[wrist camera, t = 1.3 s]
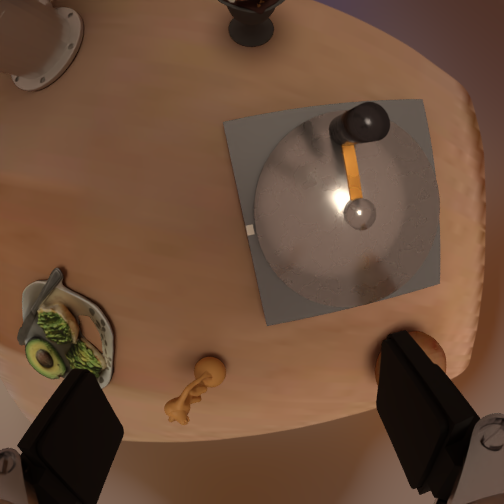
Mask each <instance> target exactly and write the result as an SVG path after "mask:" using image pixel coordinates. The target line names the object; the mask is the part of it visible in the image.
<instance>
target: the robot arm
mask: <svg viewBox="0 0 504 504" xmlns="http://www.w3.org/2000/svg"><path fill="white" fill-rule="evenodd" d="M83 29H84V26H83V21H82V18H81V16H80V15H79V14H78V13H77V12H76V11H74V10H73V9H71V8H68V7H60V8H54V7H52V3H51V2H50V0H0V72H3V73H7V74H11V77H12V80H13V82H14V84H15V85H16V86H17V87H18V88H20V89H22V90H26V91H37V90H40V89H43V88H45V87H46V86H48V85H50V84H51V83H52V82H54V81H55V80H56V79H57V78H58V77H59V76H61V75H62V74H63V72H64V71H65V70H66V69H67V68H68V66H69V65H70V63H71V62H72V60H73V59H74V57H75V55H76V53H77V52H78V49H79V47H80V44H81V41H82V37H83ZM376 406H377V410H378V413H379V415H380V417H381V419H382V422H383V424H384V426H385V429H386V431H387V433H388V435H389V437H390V440H391V442H392V444H393V447H394V449H395V451H396V453H397V456H398V458H399V460H400V463H401V465H402V468H403V470H404V472H405V475H406V477H407V479H408V482H409V484H410V486H411V488H413V489H415V488H417V490H418V492H419V494H420V495H421V494H423V493H426V492H428V491H432V494H433V496H434V497H435V498H436V499H435V502H434V504H504V414H501V413H494V414H490V415H487V416H485V417H483V418H482V419H480V418H479V416H478V415H477V414H476V412H475V411H474V410H473V408H472V407H471V406H470V404H469V403H468V402H467V400H466V399H465V398H464V396H463V395H462V394H461V393H460V391H459V390H458V389H457V388H456V386H455V385H454V384H453V383H452V381H451V380H450V379H449V377H448V376H447V375H446V374H445V372H444V371H443V370H442V369H441V367H440V366H438V365H437V364H435V363H433V362H432V361H431V359H430V358H429V357H428V356H427V354H426V353H425V352H424V351H423V350H422V348H421V347H420V346H419V345H418V344H417V342H416V341H415V340H414V339H413V338H412V336H411V335H410V334H409V333H408V332H407V331H406V330H404V331H400V332H396V333H392V334H389V335H388V336H387V340H383V342H382V348H381V362H380V373H379V383H378V392H377V400H376ZM123 435H124V429H123V426H122V424H121V423H120V421H119V419H118V418H117V416H116V414H115V413H114V411H113V409H112V407H111V405H110V404H109V402H108V400H107V398H106V396H105V394H104V393H103V391H102V389H101V387H100V385H99V383H98V381H97V379H96V377H95V375H94V374H93V373H91V372H90V371H89V370H88V369H72V370H71V371H70V372H69V374H68V375H67V376H66V378H65V379H64V380H63V382H62V383H61V384H60V386H59V387H58V388H57V390H56V391H55V392H54V394H53V395H52V396H51V398H50V399H49V400H48V402H47V403H46V405H45V406H44V407H43V409H42V410H41V412H40V413H39V414H38V416H37V417H36V419H35V420H34V421H33V423H32V424H31V426H30V427H29V429H28V430H27V432H26V433H25V434H24V436H23V438H22V439H21V440H20V442H19V443H18V445H17V446H18V447H19V448H20V450H21V451H22V452H23V453H22V454H21V455H20V454H19V453H18V452H17V451H16V450H15V449H12V448H5V449H2V450H0V504H97V501H98V499H99V496H100V493H101V491H102V488H103V485H104V482H105V480H106V477H107V475H108V473H109V470H110V467H111V465H112V462H113V460H114V457H115V455H116V452H117V450H118V447H119V445H120V443H121V440H122V438H123Z"/></svg>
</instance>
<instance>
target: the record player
mask: <svg viewBox="0 0 504 504" xmlns="http://www.w3.org/2000/svg"><path fill="white" fill-rule="evenodd" d="M439 213H440V200H439V191H438V185H437V181H436V178H435V174H434V172H433V169H432V166H431V164H430V162H429V160H428V158H427V156H426V155H425V153H424V151H423V150H422V149H421V147H420V146H419V145H418V143H417V142H416V141H415V140H414V139H413V138H412V137H411V136H410V135H409V134H408V133H407V132H406V131H405V130H403V129H402V128H401V127H400V126H398V125H397V124H395V123H393V122H392V121H390V119H389V116H388V114H387V112H386V111H385V109H384V108H383V107H382V106H380V105H379V104H377V103H374V102H364V103H362V104H360V105H358V106H356V107H354V108H352V109H350V110H340V111H334V112H329V113H325V114H322V115H319V116H316V117H313V118H312V119H310V120H308V121H306V122H304V123H302V124H301V125H299V126H298V127H296V128H295V129H293V130H292V131H291V132H290V133H289V134H287V135H286V136H285V137H284V138H283V139H282V140H281V141H280V142H279V143H278V145H277V146H276V147H275V148H274V150H273V151H272V152H271V154H270V156H269V157H268V159H267V161H266V162H265V164H264V167H263V169H262V171H261V174H260V176H259V180H258V184H257V188H256V193H255V201H254V218H255V225H256V232H257V236H258V240H259V243H260V246H261V249H262V251H263V253H264V256H265V258H266V260H267V261H268V263H269V265H270V266H271V268H272V269H273V271H274V272H275V273H276V274H277V276H278V277H279V278H280V279H281V280H282V281H283V282H284V283H285V284H286V285H287V286H288V287H289V288H291V289H292V290H294V291H295V292H296V293H298V294H299V295H301V296H303V297H305V298H307V299H309V300H311V301H314V302H317V303H320V304H324V305H328V306H334V307H355V306H361V305H366V304H369V303H372V302H376V301H378V300H380V299H382V298H385V297H387V296H389V295H390V294H392V293H393V292H395V291H397V290H398V289H399V288H400V287H402V286H403V285H404V284H405V283H407V282H408V281H409V280H410V279H411V278H412V277H413V276H414V274H415V273H416V272H417V271H418V269H419V268H420V267H421V265H422V264H423V262H424V261H425V259H426V257H427V256H428V253H429V251H430V249H431V247H432V245H433V242H434V239H435V236H436V232H437V227H438V223H439Z"/></svg>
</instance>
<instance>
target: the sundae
mask: <svg viewBox="0 0 504 504" xmlns="http://www.w3.org/2000/svg"><path fill="white" fill-rule="evenodd" d="M218 1H219V2H221V3H222V4H224V5H227V7H228V9H229V11H230V13H231V15H232V16H233V17H234V18H233V19H232V21H231V22H230V25H229V34H230V36H231V38H232V39H233V40H234V41H235V42H237V43H238V44H241V45H243V46H249V47H253V46H259V45H262V44H264V43H266V42H267V41H268V40H269V39H270V38H271V37H272V35H273V31H274V27H273V24H272V22H271V20H270V19H269V16H270V15H271V14H272V13H273V11H274V9H275V7H276V6H278V5H280V4H281V3H282V2H284V1H285V0H218Z"/></svg>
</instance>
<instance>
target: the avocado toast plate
mask: <svg viewBox="0 0 504 504" xmlns="http://www.w3.org/2000/svg"><path fill="white" fill-rule="evenodd" d="M62 280H63V273H62V271H61V270H60V269H59V268H55V269H54V270H53V271H52V273H51V275H50V276H49V278H48V280H47V281H35V282H33V283H31V284H30V285H29V286H27V287H26V288H25V290H24V291H23V297H22V309H23V321H24V322H23V325H22V327H20V329H19V332H18V336H17V339H18V341H19V344H20V345H26V346H25V352H26V357H27V359H28V361H29V363H30V365H31V366H32V367H33V368H34V369H35V370H36V371H37V372H39V373H40V374H41V375H43V376H45V377H47V378H50V379H59V378H60V376H61V377H63V378H66V376H67V375H68V374H69V372H70V371H71V370H72V369H88V370H89V371H90V372H91V373H93V374H94V375H95V377H96V379H97V381H98V383H99V385H100V387H101V389H102V388H104V387H106V386H107V385H108V384H109V382H110V380H111V378H112V375H113V370H114V369H113V353H114V341H113V339H114V334H113V331H112V328H111V326H110V323H109V321H108V319H107V318H106V316H105V315H104V313H103V312H102V311H101V309H100V308H99V307H98V306H97V305H96V304H94V303H93V302H91V301H90V300H89V299H87V298H86V297H84V296H82V295H80V294H78V293H76V292H73V291H71V290H69V289H68V288H66V287H65V286H64V285H63V284H62ZM78 315H85V316H89V317H90V318H91V320H92V321H93V322H94V324H95V325H96V327H97V329H98V331H99V333H100V336H101V340H102V349H103V353H102V354H101V353H100V352H99V351H98V349H97V348H96V347H94V346H93V345H92V344H91V343H90V342H89V341H87V340H86V338H85V337H84V336H83V335H82V333H81V331H80V328H79V324H80V321H79V319H78Z"/></svg>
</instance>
